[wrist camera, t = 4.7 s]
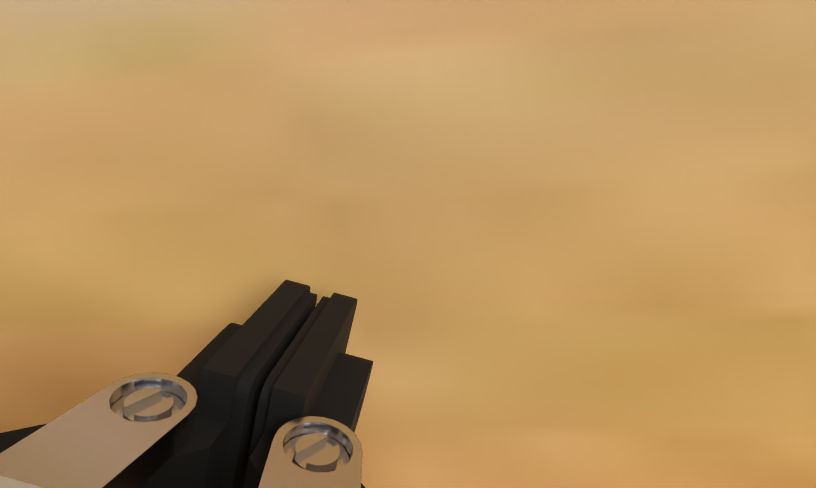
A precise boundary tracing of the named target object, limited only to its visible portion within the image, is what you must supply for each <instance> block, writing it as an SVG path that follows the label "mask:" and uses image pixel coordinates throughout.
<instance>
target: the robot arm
mask: <svg viewBox="0 0 816 488" xmlns="http://www.w3.org/2000/svg"><path fill="white" fill-rule="evenodd" d="M316 301H317V294H313V293H310V286H308V285H304V284H300V283H297V282H293V281H289V280H285V281H284V282H283V283H282V284H281V285H280V286H279V287H278V288H277V289H276V291H275V292H274V293H273V294H272V295H271V296H270V297H269V298H268V299H267V300H266V301H265V302H264V303H263V304H262V305H261V306H260V307H259V308H258V309H257V311H256V312H255V313H254V314H253V315H252V316H251V317H250V318H249V319H248V320H247V321H246V322H245V323H244V324H243V325H239V324H235V323H231V324H229V325H228V326H227V327H226V328H225V329H223V330H222V331H221V332H220V333H219V334H218V335H217V336H216V337H215V338H214V339H213V340H212V341H211V342H210V343H209V344H208V345H207V346H206V347H205V348H204V349H203V350H202V351H201V352H200V353H199V354H198V355H197V356H196V357H195V358H194V359H193V360H192V361H191V362H190V363H189V364H188V365H187V366H186V367H185V368H184V369H183V370H182V371H181V372H180V373H179V374H178V375H177V376H174V375H170V374H164V373H142V374H136V375H132V376H128V377H124V378H122V379H120V380H118V381H116V382H114V383H112V384H110V385H109V386H107V387H105V388H104V389H102V390H101V391H99V392H97V393H96V394H94V395H93V396H91V397H89V398H88V399H86V400H85V401H83V402H81V403H80V404H78V405H77V406H75V407H73V408H72V409H70V410H69V411H67V412H65V413H64V414H62V415H61V416H59V417H57V418H56V419H54V420H53V421H51V422H50V423H48V424H43V425H38V426H34V427H29V428H24V429H19V430H14V431H9V432H4V433H0V488H365V487H364V486H363V484H362V483H361V473H362V455H363V452H362V446H361V442H360V441H359V439H358V437H357V436H356V434H355V433H354V432H355V428H356V425H357V422H358V418H359V415H360V411H361V408H362V404H363V400H364V397H365V393H366V389H367V385H368V381H369V377H370V373H371V369H372V365H373V361H370V360H366V359H363V358H359V357H355V356H352V355H348V354H345V352H346V348H347V343H348V339H349V335H350V331H351V326H352V322H353V318H354V314H355V310H356V305H357V299H356V298H352V297H348V296H345V295H341V294H337V293H333V295H332V296H331V298H328V297H324V296H323V297H322V299H321V300H320V302H319V303H318V304H317V306H316ZM315 306H316V307H315Z"/></svg>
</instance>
